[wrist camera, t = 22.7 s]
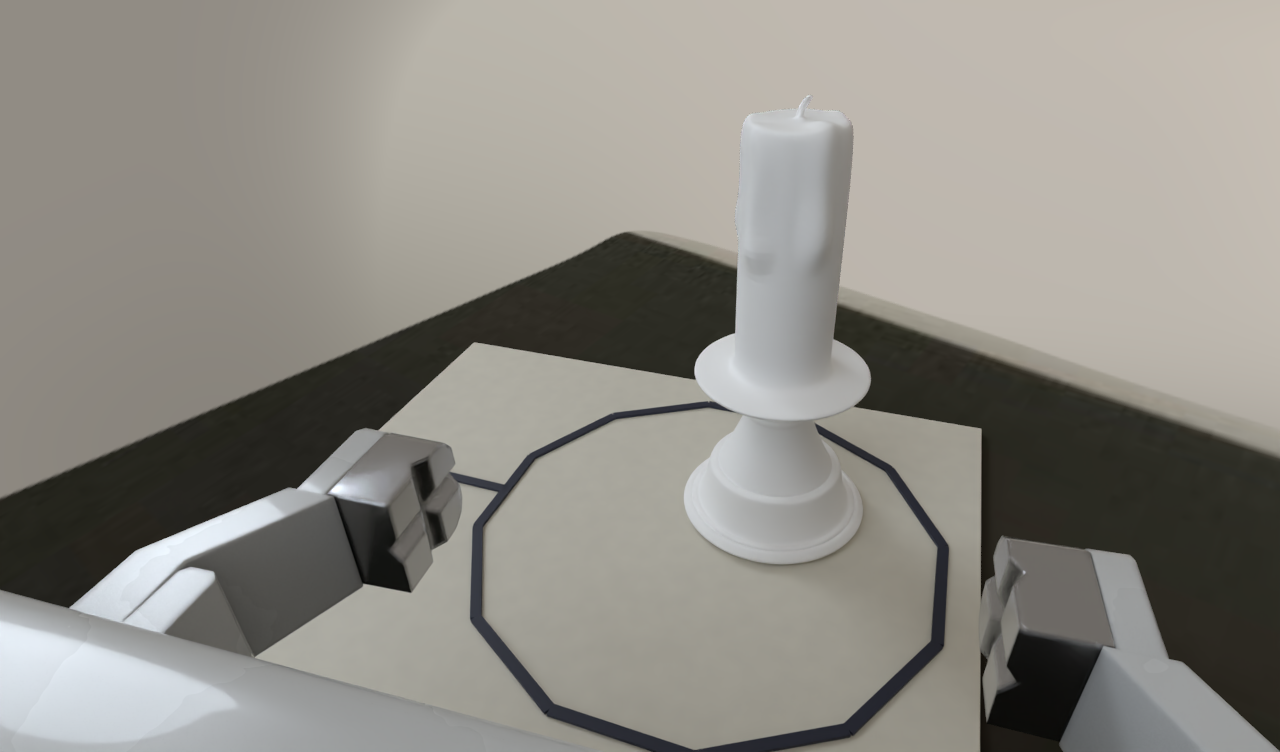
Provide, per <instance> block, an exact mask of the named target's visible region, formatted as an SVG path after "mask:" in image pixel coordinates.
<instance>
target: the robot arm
mask: <svg viewBox="0 0 1280 752" xmlns="http://www.w3.org/2000/svg"><path fill="white" fill-rule="evenodd" d="M455 464H456V463H455V459H454V456H453V452H452V448H451V447H450V446H449V445H447V444H445V443H442V442H437V441H432V440H427V439H422V438H416V437H411V436H406V435H401V434H396V433H387V432H382V431H377V430H372V429H367V428H364V429H361V430H358V431H355V432H354V433H353V434H352V435H351V436H350V437H349V438H348V439H347V440H346V441H345V442H344V443H343V444H342V445H341V446H340V447H339V448H338V449H337V450H336V451H335V452H334V453H333V454H332V455H331V456H330V457H329V458H328V459H327V460H326V461H325V462H324V463H323V464H322V465H321V466H320V467H319V468H318V469H317V470H316V471H315V472H314V473H313V474H312V475H311V476H310V477H309V478H308V479H307V480H306V481H305V482H304V483H303V484H302V485H301V486H300V487H299V488H298V489H293V488H287V489H284V490H282V491H279V492H277V493H275V494H272V495H270V496H267V497H265V498H262V499H260V500H258V501H255V502H253V503H250V504H248V505H245V506H243V507H241V508H238V509H236V510H233V511H231V512H228V513H226V514H224V515H221V516H219V517H216V518H214V519H211V520H209V521H207V522H204V523H202V524H199V525H197V526H194V527H192V528H190V529H187V530H185V531H182V532H180V533H178V534H175V535H173V536H170V537H168V538H165V539H163V540H161V541H158V542H156V543H153V544H151V545H148V546H146V547H144V548H141V549H139V550H136V551H135V552H134V553H133V554H131V555H130V556H129V557H128V558H127V559H126V560H124V561H123V562H122V563H121V564H120V565H119V566H118V567H116V568H115V569H114V570H113V571H112V572H111V573H109V574H108V575H107V576H106V577H105V578H104V579H102V580H101V581H100V582H99V583H98V584H97V585H96V586H94V587H93V588H92V589H91V590H90V591H89V592H87V593H86V594H85V595H84V596H83V597H82V598H81V599H79V600H78V601H77V602H76V603H75V604H74V605H72V606H71V607H70V608H66V607H62V606H58V605H55V604H51V603H47V602H43V601H40V600H36V599H32V598H28V597H25V596H21V595H17V594H13V593H10V592H6V591H2V590H0V752H604V751H600V750H596V749H593V748H589V747H585V746H581V745H578V744H574V743H570V742H567V741H563V740H559V739H555V738H552V737H548V736H544V735H540V734H537V733H533V732H529V731H526V730H522V729H518V728H514V727H511V726H507V725H503V724H499V723H496V722H492V721H488V720H485V719H481V718H477V717H473V716H470V715H466V714H462V713H458V712H455V711H451V710H447V709H444V708H440V707H436V706H432V705H429V704H425V703H421V702H417V701H414V700H410V699H406V698H402V697H399V696H395V695H391V694H387V693H384V692H380V691H376V690H372V689H369V688H365V687H361V686H357V685H354V684H350V683H346V682H343V681H339V680H335V679H331V678H328V677H324V676H320V675H316V674H313V673H309V672H305V671H301V670H298V669H294V668H290V667H286V666H283V665H279V664H275V663H271V662H268V661H264V660H260V659H257V658H255V657H256V656H257V655H259V654H260V653H262V652H263V651H265V650H266V649H268V648H269V647H271V646H273V645H274V644H276V643H277V642H279V641H280V640H282V639H283V638H285V637H286V636H288V635H289V634H291V633H293V632H294V631H296V630H297V629H299V628H300V627H302V626H303V625H305V624H306V623H308V622H310V621H311V620H313V619H314V618H316V617H317V616H319V615H320V614H322V613H323V612H325V611H326V610H328V609H330V608H331V607H333V606H334V605H336V604H337V603H339V602H340V601H342V600H343V599H345V598H346V597H348V596H350V595H351V594H353V593H354V592H356V591H357V590H359V589H360V588H362V587H363V584H367V585H372V586H377V587H383V588H388V589H393V590H398V591H403V592H408V593H412V592H413V590H414V589H415V587H416V586H417V585H418V583H419V582H420V580H421V579H422V577H423V576H424V575H425V573H426V572H427V570H428V569H429V568H430V566H431V565H432V563H433V556H432V550H433V549H435V548H437V547H439V546H440V545H442V544H444V543H446V542H448V540H449V539H450V537H451V536H452V534H453V533H454V531H455V530H456V528H457V525H458V522H459V519H460V516H461V512H462V492H461V487H460V485H459V483H458V482H457V481H456V480H455V479H454V478H453V476H452V475H451V474H450V473H449V472H450V471H451V469H452V468H453V467H454V465H455ZM993 560H994V569H995V576H993V577H991V578H990V579H988V580H986V583H985V587H984V590H983V594H982V598H981V605H980V612H979V647H980V651H981V652H982V654H983V655H984V656H985V657H986V658H987V660H988V662H987V665H986V669H985V672H984V675H983V678H982V681H983V691H984V701H985V711H986V722H987V724H991V725H995V726H999V727H1003V728H1007V729H1011V730H1015V731H1019V732H1023V733H1027V734H1031V735H1035V736H1039V737H1043V738H1047V739H1051V740H1055V741H1059V742H1060V743H1059V746H1060V747H1061V749H1062V750H1063V752H1280V751H1279V750H1278V749H1277V748H1276V747H1274V746H1273V745H1272V744H1271V743H1270V742H1269V741H1268V740H1267V739H1266V738H1265V737H1264V736H1263V735H1261V734H1260V733H1259V732H1258V731H1257V730H1256V729H1255V728H1254V727H1253V726H1252V725H1251V724H1249V723H1248V722H1247V721H1246V720H1245V719H1244V718H1243V717H1242V716H1241V715H1240V714H1239V713H1238V712H1236V711H1235V710H1234V709H1233V708H1232V707H1231V706H1230V705H1229V704H1228V703H1227V702H1226V701H1225V700H1223V699H1222V698H1221V697H1220V696H1219V695H1218V694H1217V693H1216V692H1215V691H1214V690H1213V689H1212V688H1210V687H1209V686H1208V685H1207V684H1206V683H1205V682H1204V681H1203V680H1202V679H1201V678H1200V677H1198V676H1197V675H1196V674H1195V673H1194V672H1193V671H1192V670H1191V669H1190V668H1189V667H1188V666H1187V665H1185V664H1184V663H1183V662H1180V661H1175V660H1170V659H1169V658H1168V655H1167V652H1166V649H1165V646H1164V643H1163V640H1162V637H1161V634H1160V631H1159V628H1158V625H1157V622H1156V619H1155V616H1154V613H1153V610H1152V607H1151V604H1150V601H1149V599H1148V596H1147V593H1146V590H1145V587H1144V584H1143V581H1142V578H1141V575H1140V572H1139V569H1138V566H1137V563H1136V561H1135V560H1134V559H1133V558H1132V557H1131V556H1130V555H1126V554H1119V553H1112V552H1106V551H1099V550H1092V549H1085V550H1084V549H1082V548H1075V547H1069V546H1063V545H1057V544H1050V543H1044V542H1038V541H1032V540H1025V539H1019V538H1013V537H1007V536H1002V537H1001V538H1000V540H999V542H998V543H997V547H996V550H995V553H994V556H993Z"/></svg>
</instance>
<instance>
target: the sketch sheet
mask: <svg viewBox="0 0 1280 752" xmlns="http://www.w3.org/2000/svg"><path fill="white" fill-rule="evenodd" d="M741 417H742V415H741V414H739V413H736V412H733V411H731V410H729V409H727V408H725V407H723V406H721V405H719V404H718V403H716V402H715V401H713V400H712V399H711V398H710V397H708V396H707V395H706V394H705V393H704V392H703V390H702V389H701V388H700V386H699V384H698V383H697V380H692V379H686V378H680V377H674V376H669V375H663V374H657V373H651V372H645V371H639V370H633V369H628V368H622V367H616V366H610V365H604V364H598V363H592V362H586V361H581V360H575V359H569V358H563V357H557V356H551V355H545V354H540V353H534V352H528V351H522V350H516V349H510V348H504V347H498V346H493V345H487V344H481V343H475V342H474V343H473V344H472V345H471V346H470V347H469V348H468V349H467V350H466V351H464V352H463V353H462V354H461V355H460V356H459V357H458V358H457V359H456V360H455V361H454V362H452V363H451V364H450V365H449V366H448V367H447V368H446V369H445V370H444V371H443V372H442V373H440V374H439V375H438V376H437V377H436V378H435V379H434V380H433V381H432V382H431V383H430V384H428V385H427V386H426V387H425V388H424V389H423V390H422V391H421V392H420V393H419V394H418V395H416V396H415V397H414V398H413V399H412V400H411V401H410V402H409V403H408V404H407V405H406V406H405V407H403V408H402V409H401V410H400V411H399V412H398V413H397V414H396V415H395V416H394V417H393V418H391V419H390V420H389V421H388V422H387V423H386V424H385V425H384V426H383V427H382V428H381V429H379V430H378V431H382V432H387V433H396V434H401V435H406V436H411V437H416V438H422V439H427V440H432V441H437V442H442V443H445V444H447V445H449V446H450V447H451V448H452V452H453V456H454V459H455V463H456V464H455V465H454V467H453V468H452V469H451V471H450V472H449V473H450V474H451V475H452V476H453V478H454V479H455V480H456V481H457V482H458V483H459V485H460V487H461V492H462V512H461V516H460V519H459V522H458V525H457V528H456V530H455V531H454V533H453V534H452V536H451V537H450V539H449V540H448V542H446V543H444V544H442V545H440V546H439V547H437V548H435V549H433V550H432V556H433V563H432V565H431V566H430V568H429V569H428V570H427V572H426V573H425V575H424V576H423V577H422V579H421V580H420V582H419V583H418V585H417V586H416V587H415V589H414V590H413V592H412V593H408V592H403V591H398V590H393V589H388V588H383V587H377V586H372V585H367V584H363V587H362V588H360V589H359V590H357V591H356V592H354V593H353V594H351V595H350V596H348V597H346V598H345V599H343V600H342V601H340V602H339V603H337V604H336V605H334V606H333V607H331V608H330V609H328V610H326V611H325V612H323V613H322V614H320V615H319V616H317V617H316V618H314V619H313V620H311V621H310V622H308V623H306V624H305V625H303V626H302V627H300V628H299V629H297V630H296V631H294V632H293V633H291V634H289V635H288V636H286V637H285V638H283V639H282V640H280V641H279V642H277V643H276V644H274V645H273V646H271V647H269V648H268V649H266V650H265V651H263V652H262V653H260V654H259V655H257V656H256V657H255V658H257V659H260V660H264V661H268V662H271V663H275V664H279V665H283V666H286V667H290V668H294V669H298V670H301V671H305V672H309V673H313V674H316V675H320V676H324V677H328V678H331V679H335V680H339V681H343V682H346V683H350V684H354V685H357V686H361V687H365V688H369V689H372V690H376V691H380V692H384V693H387V694H391V695H395V696H399V697H402V698H406V699H410V700H414V701H417V702H421V703H425V704H429V705H432V706H436V707H440V708H444V709H447V710H451V711H455V712H458V713H462V714H466V715H470V716H473V717H477V718H481V719H485V720H488V721H492V722H496V723H499V724H503V725H507V726H511V727H514V728H518V729H522V730H526V731H529V732H533V733H537V734H540V735H544V736H548V737H552V738H555V739H559V740H563V741H567V742H570V743H574V744H578V745H581V746H585V747H589V748H593V749H596V750H600V751H604V752H980V655H981V651H980V647H979V612H980V605H981V435H982V429H979V428H974V427H968V426H962V425H956V424H950V423H944V422H938V421H933V420H927V419H921V418H915V417H909V416H903V415H897V414H891V413H886V412H880V411H874V410H868V409H862V408H856V407H852V408H850V409H848V410H846V411H844V412H842V413H840V414H837V415H834V416H831V417H828V418H824V419H819V420H814V423H815V426H816V429H817V431H818V433H819V436H820V438H821V439H822V440H823V441H824V442H826V443H827V444H828V445H829V446H830V447H831V448H832V449H833V451H834V452H835V454H836V455H837V457H838V459H839V462H840V466H841V470H843V471H844V472H845V473H846V474H847V475H848V476H849V478H850V479H851V480H852V481H853V483H854V484H855V486H856V487H857V489H858V491H859V493H860V496H861V499H862V505H863V515H862V520H861V523H860V526H859V528H858V530H857V532H856V533H855V535H854V536H853V537H852V538H851V539H850V540H849V541H848V542H847V543H846V544H845V545H844V546H843V547H841V548H840V549H838V550H837V551H835V552H833V553H831V554H829V555H827V556H825V557H822V558H819V559H816V560H813V561H809V562H804V563H797V564H767V563H760V562H755V561H750V560H747V559H743V558H740V557H737V556H735V555H732V554H730V553H728V552H725V551H724V550H722V549H720V548H718V547H716V546H715V545H713V544H712V543H711V542H709V541H708V540H707V539H706V538H704V537H703V536H702V535H701V534H700V533H699V532H698V531H697V529H696V528H695V527H694V526H693V524H692V523H691V521H690V519H689V517H688V515H687V513H686V510H685V505H684V490H685V486H686V483H687V481H688V479H689V477H690V476H691V474H692V473H693V471H694V470H695V469H696V468H697V467H698V466H699V465H700V464H701V463H702V462H704V461H705V460H706V459H708V458H710V456H711V453H712V451H713V449H714V447H715V446H716V444H717V443H718V442H719V441H720V440H721V439H722V438H723V437H725V436H726V435H728V434H729V433H731V432H733V431H734V429H735V428H736V426H737V424H738V423H739V421H740V419H741Z"/></svg>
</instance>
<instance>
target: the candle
mask: <svg viewBox="0 0 1280 752" xmlns="http://www.w3.org/2000/svg"><path fill="white" fill-rule="evenodd" d="M812 98H813V96H812V95H808V96H807V97H805V99H804V100H803V101H802V102H801V104H800V106H799V108H798V109H782V110H774V111H768V112H763V113H753V114H750V115H748V116H747V118H746V119H745V121H744V124H743V127H742V131H741V140H740V173H739V174H740V175H739V192H738V199H737V205H736V210H735V225H736V230H737V235H738V269H737V299H736V329H735V334H732V335H729V336H726V337H724V338H721V339H719V340H717V341H715V342H714V343H712V344H711V345H709V346H708V347H707V348H706V349H705V350H704V351H703V352H702V353H701V354H700V355H699V357H698V359H697V361H696V364H695V377H696V380H697V383H698V384H699V386H700V388H701V389H702V390H703V392H704V393H705V394H706V395H707V396H708V397H710V398H711V399H712V400H713V401H715V402H716V403H718V404H719V405H721V406H723V407H725V408H727V409H729V410H731V411H733V412H736V413H739V414H741V415H742V417H741V419H740V421H739V423H738V424H737V426H736V428H735V429H734V431H733V432H731V433H729V434H728V435H726V436H725V437H723V438H722V439H721V440H720V441H719V442H718V443H717V444H716V446H715V447H714V449H713V451H712V453H711V456H710V458H708V459H706V460H705V461H704V462H702V463H701V464H700V465H699V466H698V467H697V468H696V469H695V470H694V471H693V473H692V474H691V476H690V477H689V479H688V481H687V483H686V486H685V490H684V505H685V510H686V513H687V515H688V517H689V519H690V521H691V523H692V524H693V526H694V527H695V528H696V529H697V531H698V532H699V533H700V534H701V535H702V536H703V537H704V538H706V539H707V540H708V541H709V542H711V543H712V544H713V545H715V546H716V547H718V548H720V549H722V550H724V551H725V552H728V553H730V554H732V555H735V556H737V557H740V558H743V559H747V560H750V561H755V562H760V563H767V564H797V563H804V562H809V561H813V560H816V559H819V558H822V557H825V556H827V555H829V554H831V553H833V552H835V551H837V550H838V549H840V548H841V547H843V546H844V545H845V544H846V543H847V542H848V541H849V540H850V539H851V538H852V537H853V536H854V535H855V533H856V532H857V530H858V528H859V526H860V523H861V520H862V515H863V505H862V499H861V496H860V493H859V491H858V489H857V487H856V486H855V484H854V483H853V481H852V480H851V479H850V478H849V476H848V475H847V474H846V473H845V472H844V471H843V470H841V466H840V462H839V459H838V457H837V455H836V454H835V452H834V451H833V449H832V448H831V447H830V446H829V445H828V444H827V443H826V442H824V441H823V440H822V439H821V438H820V436H819V433H818V431H817V429H816V426H815V423H814V420H819V419H824V418H828V417H831V416H834V415H837V414H840V413H842V412H844V411H846V410H848V409H850V408H852V407H853V406H855V405H856V404H857V403H858V402H860V401H861V400H862V399H863V397H864V396H865V395H866V393H867V392H868V390H869V387H870V383H871V375H870V371H869V368H868V366H867V365H866V363H865V362H864V360H863V359H862V358H861V357H860V356H859V355H858V354H857V353H856V352H855V351H853V350H852V349H850V348H849V347H847V346H846V345H844V344H842V343H840V342H838V341H836V340H834V339H833V335H834V326H835V317H836V308H837V299H838V290H839V281H840V272H841V263H842V253H843V245H844V236H845V227H846V217H847V209H848V199H849V189H850V179H851V167H852V154H853V126H852V123H851V121H850V120H849V119H848V118H847V117H846V116H845V115H844V114H843V113H842V112H840V111H836V110H830V111H829V110H828V111H824V110H815V109H806V108H807V106H808V104H809V103H810V101H811V99H812Z"/></svg>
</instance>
